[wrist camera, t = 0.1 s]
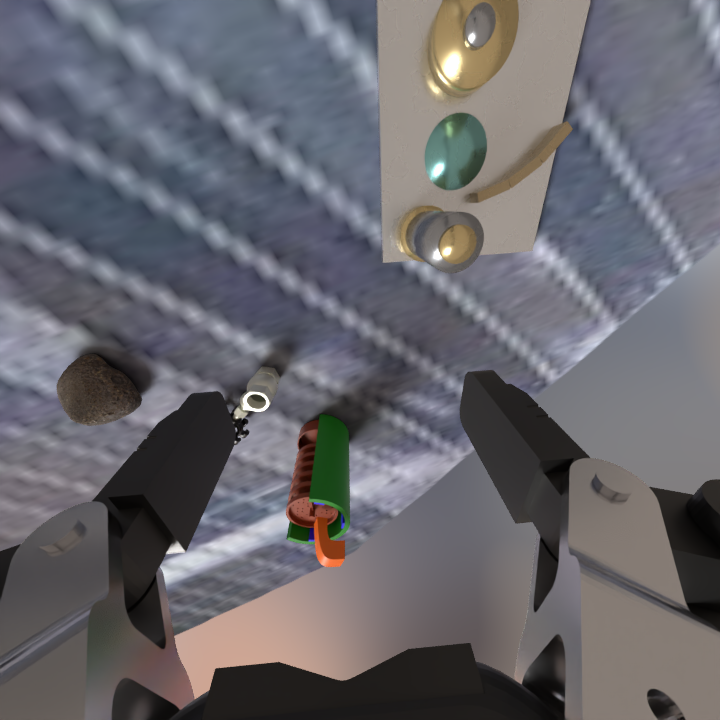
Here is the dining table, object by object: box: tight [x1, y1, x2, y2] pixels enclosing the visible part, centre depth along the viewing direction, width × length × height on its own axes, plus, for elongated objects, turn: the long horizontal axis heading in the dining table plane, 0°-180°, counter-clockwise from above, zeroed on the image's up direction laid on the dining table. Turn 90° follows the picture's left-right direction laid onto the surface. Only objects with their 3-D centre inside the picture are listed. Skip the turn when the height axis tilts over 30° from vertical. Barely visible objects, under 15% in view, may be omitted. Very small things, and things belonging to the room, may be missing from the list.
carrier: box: [376, 0, 591, 263], centre depth 27 cm, size 25×19×4 cm
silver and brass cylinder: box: [398, 206, 484, 273], centre depth 27 cm, size 6×6×12 cm
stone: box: [57, 354, 142, 426], centre depth 40 cm, size 10×8×10 cm
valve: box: [230, 366, 280, 445], centre depth 41 cm, size 7×7×12 cm
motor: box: [286, 414, 350, 567], centre depth 40 cm, size 10×9×20 cm
